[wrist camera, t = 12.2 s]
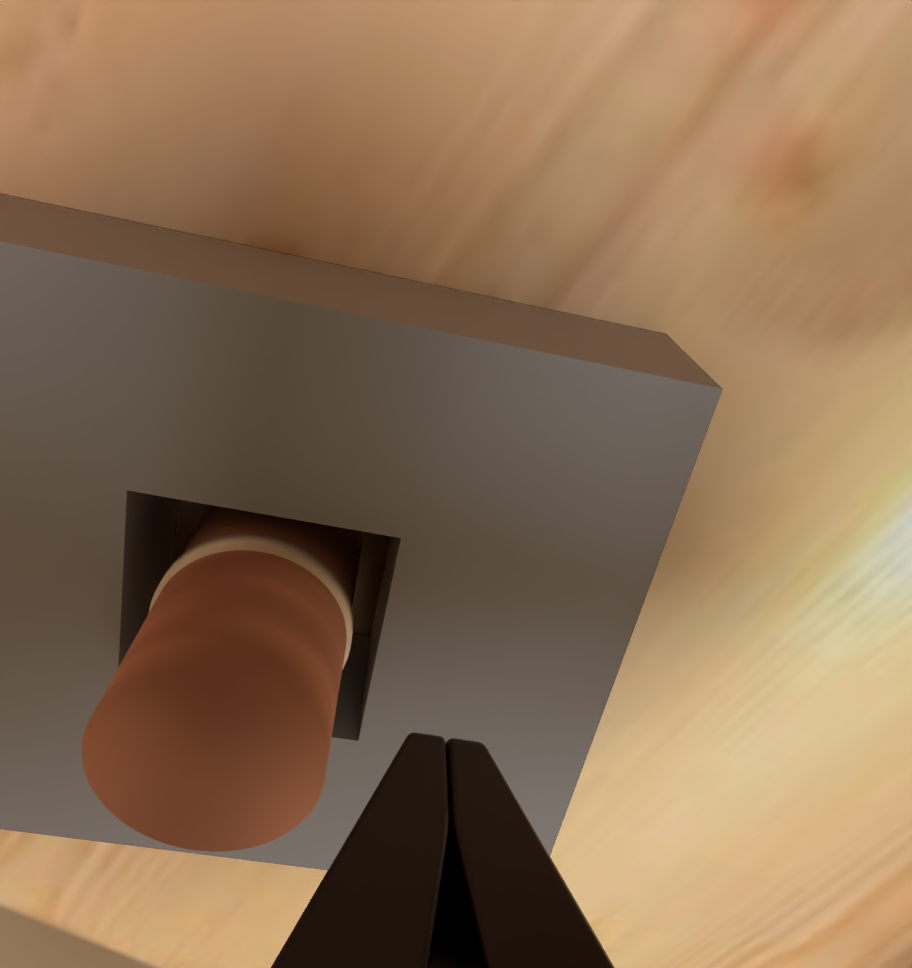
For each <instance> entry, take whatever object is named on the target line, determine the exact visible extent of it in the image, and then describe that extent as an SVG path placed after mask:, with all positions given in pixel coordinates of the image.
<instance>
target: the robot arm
mask: <svg viewBox="0 0 912 968" xmlns="http://www.w3.org/2000/svg"><path fill="white" fill-rule="evenodd" d="M271 968H614V966H613V964H612V962H611V961H610V959H609V957H608V955H607V954H606V952H605V950H604V949H603V947H602V945H601V943H600V942H599V940H598V938H597V937H596V935H595V933H594V931H593V930H592V928H591V926H590V925H589V923H588V921H587V919H586V918H585V916H584V914H583V912H582V911H581V909H580V907H579V906H578V904H577V902H576V900H575V899H574V897H573V895H572V894H571V892H570V890H569V888H568V887H567V885H566V883H565V882H564V880H563V878H562V876H561V875H560V873H559V871H558V870H557V868H556V866H555V864H554V863H553V861H552V859H551V857H550V856H549V854H548V852H547V851H546V849H545V847H544V845H543V844H542V842H541V840H540V839H539V837H538V835H537V833H536V832H535V830H534V828H533V827H532V825H531V823H530V821H529V820H528V818H527V816H526V814H525V813H524V811H523V809H522V808H521V806H520V804H519V802H518V801H517V799H516V797H515V796H514V794H513V792H512V790H511V789H510V787H509V785H508V784H507V782H506V780H505V778H504V777H503V775H502V773H501V771H500V770H499V768H498V766H497V765H496V763H495V761H494V759H493V758H492V756H491V754H490V753H489V751H488V749H487V748H486V746H485V745H484V744H482V743H480V742H476V741H469V740H462V739H456V738H451V739H449V740H448V741H447V742H445V740H444V738H443V737H441V736H436V735H429V734H422V733H416V732H412V733H410V734H409V735H408V736H407V737H406V738H405V740H404V742H403V744H402V745H401V747H400V749H399V750H398V752H397V754H396V755H395V757H394V759H393V761H392V762H391V764H390V766H389V767H388V769H387V771H386V772H385V774H384V776H383V778H382V779H381V781H380V783H379V784H378V786H377V788H376V790H375V791H374V793H373V795H372V796H371V798H370V800H369V801H368V803H367V805H366V807H365V808H364V810H363V812H362V813H361V815H360V817H359V818H358V820H357V822H356V824H355V825H354V827H353V829H352V830H351V832H350V834H349V836H348V837H347V839H346V841H345V842H344V844H343V846H342V847H341V849H340V851H339V853H338V854H337V856H336V858H335V859H334V861H333V863H332V864H331V866H330V868H329V870H328V871H327V873H326V875H325V876H324V878H323V880H322V881H321V883H320V885H319V887H318V888H317V890H316V892H315V893H314V895H313V897H312V899H311V900H310V902H309V904H308V905H307V907H306V909H305V910H304V912H303V914H302V916H301V917H300V919H299V921H298V922H297V924H296V926H295V927H294V929H293V931H292V933H291V934H290V936H289V938H288V939H287V941H286V943H285V945H284V946H283V948H282V950H281V951H280V953H279V955H278V956H277V958H276V960H275V962H274V963H273V965H272V967H271Z"/></svg>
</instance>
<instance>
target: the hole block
mask: <svg viewBox="0 0 912 968" xmlns="http://www.w3.org/2000/svg"><path fill="white" fill-rule="evenodd" d="M721 392H722V388H721V387H720V386H719V385H718V384H717V383H716V382H715V381H714V380H713V379H712V378H711V377H710V376H709V375H708V374H707V373H706V372H705V371H704V370H703V369H701V368H700V367H699V366H698V365H697V364H696V363H695V362H694V361H693V360H692V359H691V358H690V357H689V356H688V355H687V354H686V353H685V352H684V351H683V350H682V349H681V348H680V347H679V346H678V345H677V344H676V343H675V342H674V341H673V340H672V339H671V338H670V337H669V336H668V335H667V334H664V333H659V332H654V331H649V330H645V329H640V328H635V327H630V326H626V325H621V324H616V323H611V322H607V321H602V320H597V319H592V318H588V317H583V316H578V315H573V314H569V313H564V312H559V311H554V310H550V309H545V308H540V307H536V306H531V305H526V304H521V303H517V302H512V301H507V300H502V299H498V298H493V297H488V296H483V295H479V294H474V293H469V292H464V291H460V290H455V289H450V288H445V287H441V286H436V285H431V284H426V283H422V282H417V281H412V280H408V279H403V278H398V277H393V276H389V275H384V274H379V273H374V272H370V271H365V270H360V269H355V268H351V267H346V266H341V265H336V264H332V263H327V262H322V261H317V260H313V259H308V258H303V257H298V256H294V255H289V254H284V253H280V252H275V251H270V250H265V249H261V248H256V247H251V246H246V245H242V244H237V243H232V242H227V241H223V240H218V239H213V238H208V237H204V236H199V235H194V234H189V233H185V232H180V231H175V230H170V229H166V228H161V227H156V226H152V225H147V224H142V223H137V222H133V221H128V220H123V219H118V218H114V217H109V216H104V215H99V214H95V213H90V212H85V211H80V210H76V209H71V208H66V207H61V206H57V205H52V204H47V203H42V202H38V201H33V200H28V199H24V198H19V197H14V196H9V195H5V194H0V829H4V830H12V831H20V832H28V833H36V834H44V835H52V836H60V837H68V838H76V839H84V840H91V841H99V842H107V843H115V844H123V845H131V846H139V847H147V848H155V849H163V850H171V851H179V852H187V853H195V854H203V855H211V856H219V857H227V858H235V859H243V860H251V861H259V862H267V863H275V864H283V865H291V866H299V867H307V868H315V869H323V870H329V868H330V866H331V864H332V863H333V861H334V859H335V858H336V856H337V854H338V853H339V851H340V849H341V847H342V846H343V844H344V842H345V841H346V839H347V837H348V836H349V834H350V832H351V830H352V829H353V827H354V825H355V824H356V822H357V820H358V818H359V817H360V815H361V813H362V812H363V810H364V808H365V807H366V805H367V803H368V801H369V800H370V798H371V796H372V795H373V793H374V791H375V790H376V788H377V786H378V784H379V783H380V781H381V779H382V778H383V776H384V774H385V772H386V771H387V769H388V767H389V766H390V764H391V762H392V761H393V759H394V757H395V755H396V754H397V752H398V750H399V749H400V747H401V745H402V744H403V742H404V740H405V738H406V737H407V736H408V735H409V734H410V733H412V732H416V733H422V734H429V735H436V736H441V737H443V738H444V740H445V742H447V741H448V740H449V739H451V738H456V739H462V740H469V741H476V742H480V743H482V744H484V745H485V746H486V748H487V749H488V751H489V753H490V754H491V756H492V758H493V759H494V761H495V763H496V765H497V766H498V768H499V770H500V771H501V773H502V775H503V777H504V778H505V780H506V782H507V784H508V785H509V787H510V789H511V790H512V792H513V794H514V796H515V797H516V799H517V801H518V802H519V804H520V806H521V808H522V809H523V811H524V813H525V814H526V816H527V818H528V820H529V821H530V823H531V825H532V827H533V828H534V830H535V832H536V833H537V835H538V837H539V839H540V840H541V842H542V844H543V845H544V847H545V849H546V851H547V852H548V854H549V856H550V854H551V852H552V849H553V846H554V844H555V841H556V838H557V835H558V833H559V830H560V827H561V825H562V822H563V819H564V816H565V814H566V811H567V808H568V806H569V803H570V800H571V798H572V795H573V792H574V789H575V787H576V784H577V781H578V779H579V776H580V773H581V770H582V768H583V765H584V762H585V760H586V757H587V754H588V752H589V749H590V746H591V743H592V741H593V738H594V735H595V733H596V730H597V727H598V724H599V722H600V719H601V716H602V714H603V711H604V708H605V706H606V703H607V700H608V697H609V695H610V692H611V689H612V687H613V684H614V681H615V678H616V676H617V673H618V670H619V668H620V665H621V662H622V659H623V657H624V654H625V651H626V649H627V646H628V643H629V641H630V638H631V635H632V632H633V630H634V627H635V624H636V622H637V619H638V616H639V613H640V611H641V608H642V605H643V603H644V600H645V597H646V595H647V592H648V589H649V586H650V584H651V581H652V578H653V576H654V573H655V570H656V567H657V565H658V562H659V559H660V557H661V554H662V551H663V549H664V546H665V543H666V540H667V538H668V535H669V532H670V530H671V527H672V524H673V521H674V519H675V516H676V513H677V511H678V508H679V505H680V503H681V500H682V497H683V494H684V492H685V489H686V486H687V484H688V481H689V478H690V475H691V473H692V470H693V467H694V465H695V462H696V459H697V456H698V454H699V451H700V448H701V446H702V443H703V440H704V438H705V435H706V432H707V429H708V427H709V424H710V421H711V419H712V416H713V413H714V410H715V408H716V405H717V402H718V400H719V397H720V394H721ZM178 499H179V500H185V501H191V502H196V503H202V504H208V505H214V506H219V507H225V508H231V509H237V510H242V511H248V512H254V513H260V514H265V515H271V516H277V517H282V518H288V519H294V520H300V521H305V522H311V523H317V524H323V525H328V526H334V527H340V528H346V529H351V530H357V531H363V532H369V533H374V534H380V535H386V536H391V539H390V544H389V549H388V554H387V559H386V564H385V569H384V573H383V578H382V583H381V588H380V593H379V598H378V603H377V608H376V612H375V617H374V622H373V627H372V632H371V637H369V636H363V635H357V634H353V635H352V641H351V648H350V652H349V656H348V659H347V661H346V664H345V666H344V668H343V670H342V674H341V681H340V687H339V693H338V699H337V706H336V712H335V718H334V724H333V731H332V737H331V743H330V749H329V756H328V762H327V768H326V775H325V781H324V785H323V789H322V792H321V795H320V797H319V799H318V801H317V803H316V805H315V807H314V808H313V809H312V811H311V812H310V814H309V815H308V816H307V817H306V818H305V819H304V820H303V821H302V822H301V823H300V824H299V825H297V826H296V827H295V828H294V829H292V830H291V831H290V832H288V833H286V834H284V835H283V836H281V837H279V838H277V839H275V840H273V841H270V842H268V843H265V844H262V845H259V846H256V847H252V848H247V849H242V850H235V851H225V852H208V851H196V850H190V849H184V848H179V847H175V846H172V845H168V844H165V843H162V842H159V841H157V840H154V839H151V838H149V837H147V836H145V835H143V834H141V833H139V832H137V831H136V830H134V829H132V828H131V827H129V826H127V825H126V824H124V823H123V822H122V821H121V820H119V819H118V818H117V817H115V816H114V815H113V814H112V813H111V812H110V811H109V810H108V809H107V808H106V807H105V806H104V805H103V804H102V802H101V801H100V800H99V799H98V797H97V796H96V794H95V793H94V791H93V789H92V788H91V786H90V784H89V782H88V779H87V777H86V775H85V771H84V767H83V763H82V751H81V748H82V740H83V735H84V732H85V729H86V726H87V724H88V722H89V720H90V718H91V716H92V714H93V712H94V711H95V709H96V707H97V705H98V703H99V702H100V700H101V698H102V696H103V695H104V693H105V691H106V689H107V687H108V686H109V684H110V682H111V680H112V678H113V677H114V675H115V673H116V671H117V669H118V668H119V666H120V664H121V662H122V661H123V659H124V657H125V655H126V653H127V652H128V650H129V648H130V646H131V644H132V643H133V641H134V639H135V637H136V635H137V634H138V632H139V630H140V628H141V627H142V625H143V623H144V621H145V619H146V618H147V616H148V614H149V608H150V604H151V601H152V598H153V595H154V593H155V591H156V589H157V588H158V586H159V584H160V582H161V580H162V579H163V577H164V575H165V573H166V572H167V571H168V569H169V568H170V567H171V565H172V564H173V559H174V546H175V533H176V520H177V507H178Z"/></svg>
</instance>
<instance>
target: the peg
mask: <svg viewBox="0 0 912 968" xmlns="http://www.w3.org/2000/svg"><path fill="white" fill-rule="evenodd" d="M362 540H363V538H362V531H357V530H351V529H346V528H340V527H334V526H328V525H323V524H317V523H311V522H305V521H300V520H294V519H288V518H282V517H277V516H271V515H265V514H260V513H254V512H248V511H242V510H237V509H231V508H225V507H219V506H214V505H209V507H208V508H207V510H206V512H205V514H204V516H203V517H202V519H201V521H200V523H199V524H198V526H197V528H196V530H195V532H194V533H193V535H192V537H191V539H190V541H189V542H188V544H187V546H186V548H185V550H184V551H183V553H182V555H181V556H180V557H179V558H178V559H177V560H176V561H175V562H174V563H173V564H172V565H171V567H170V568H169V569H168V571H167V572H166V573H165V575H164V577H163V579H162V580H161V582H160V584H159V586H158V588H157V589H156V591H155V593H154V595H153V598H152V601H151V604H150V608H149V614H148V616H147V618H146V619H145V621H144V623H143V625H142V627H141V628H140V630H139V632H138V634H137V635H136V637H135V639H134V641H133V643H132V644H131V646H130V648H129V650H128V652H127V653H126V655H125V657H124V659H123V661H122V662H121V664H120V666H119V668H118V669H117V671H116V673H115V675H114V677H113V678H112V680H111V682H110V684H109V686H108V687H107V689H106V691H105V693H104V695H103V696H102V698H101V700H100V702H99V703H98V705H97V707H96V709H95V711H94V712H93V714H92V716H91V718H90V720H89V722H88V724H87V726H86V729H85V732H84V735H83V740H82V748H81V751H82V763H83V767H84V771H85V775H86V777H87V779H88V782H89V784H90V786H91V788H92V789H93V791H94V793H95V794H96V796H97V797H98V799H99V800H100V801H101V802H102V804H103V805H104V806H105V807H106V808H107V809H108V810H109V811H110V812H111V813H112V814H113V815H114V816H115V817H117V818H118V819H119V820H121V821H122V822H123V823H124V824H126V825H127V826H129V827H131V828H132V829H134V830H136V831H137V832H139V833H141V834H143V835H145V836H147V837H149V838H151V839H154V840H157V841H159V842H162V843H165V844H168V845H172V846H175V847H179V848H184V849H190V850H196V851H208V852H225V851H235V850H242V849H247V848H252V847H256V846H259V845H262V844H265V843H268V842H270V841H273V840H275V839H277V838H279V837H281V836H283V835H284V834H286V833H288V832H290V831H291V830H292V829H294V828H295V827H296V826H297V825H299V824H300V823H301V822H302V821H303V820H304V819H305V818H306V817H307V816H308V815H309V814H310V812H311V811H312V809H313V808H314V807H315V805H316V803H317V801H318V799H319V797H320V795H321V792H322V789H323V785H324V781H325V775H326V768H327V762H328V756H329V749H330V743H331V737H332V731H333V724H334V718H335V712H336V706H337V699H338V693H339V687H340V681H341V674H342V670H343V668H344V666H345V664H346V661H347V659H348V656H349V652H350V648H351V641H352V635H353V626H354V622H353V611H352V605H353V599H354V593H355V587H356V580H357V574H358V568H359V562H360V555H361V549H362Z"/></svg>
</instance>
